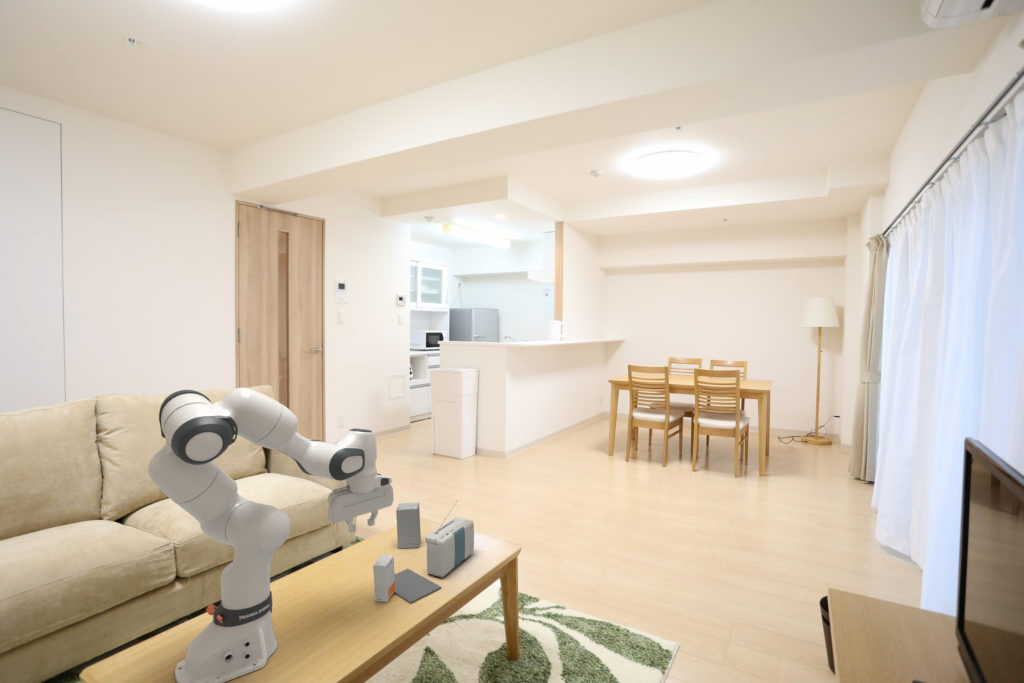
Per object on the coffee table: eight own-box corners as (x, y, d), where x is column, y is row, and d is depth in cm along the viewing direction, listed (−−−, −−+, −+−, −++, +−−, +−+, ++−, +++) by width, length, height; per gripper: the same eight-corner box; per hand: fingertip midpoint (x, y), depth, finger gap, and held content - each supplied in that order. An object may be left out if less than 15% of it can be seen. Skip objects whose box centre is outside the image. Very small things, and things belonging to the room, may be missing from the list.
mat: (410, 603, 150) (410, 602, 150) (377, 583, 162) (377, 581, 162) (441, 588, 159) (441, 586, 159) (407, 570, 171) (407, 568, 171)
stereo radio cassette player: (443, 580, 164) (443, 521, 164) (423, 575, 168) (423, 517, 167) (475, 554, 183) (475, 501, 183) (456, 550, 187) (456, 498, 186)
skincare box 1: (387, 603, 151) (385, 566, 149) (374, 601, 152) (372, 565, 150) (396, 590, 157) (394, 555, 155) (383, 589, 158) (381, 554, 156)
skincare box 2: (420, 541, 195) (420, 501, 194) (418, 549, 188) (418, 508, 187) (399, 541, 194) (399, 501, 194) (396, 549, 187) (395, 508, 187)
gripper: (334, 493, 137) (334, 542, 138) (396, 477, 153) (396, 521, 153) (323, 488, 142) (323, 536, 142) (384, 473, 157) (384, 516, 157)
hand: (361, 528), depth 148 cm, fingers open, 5 cm apart
